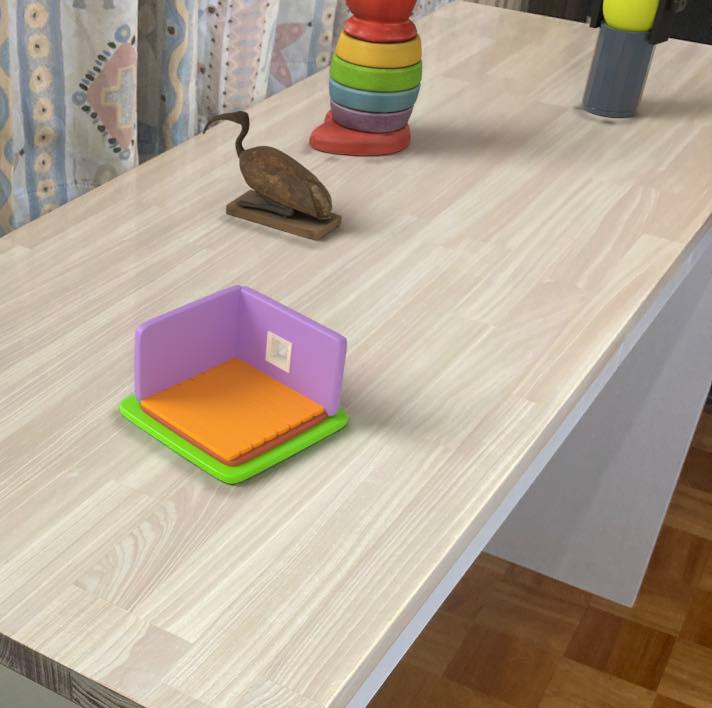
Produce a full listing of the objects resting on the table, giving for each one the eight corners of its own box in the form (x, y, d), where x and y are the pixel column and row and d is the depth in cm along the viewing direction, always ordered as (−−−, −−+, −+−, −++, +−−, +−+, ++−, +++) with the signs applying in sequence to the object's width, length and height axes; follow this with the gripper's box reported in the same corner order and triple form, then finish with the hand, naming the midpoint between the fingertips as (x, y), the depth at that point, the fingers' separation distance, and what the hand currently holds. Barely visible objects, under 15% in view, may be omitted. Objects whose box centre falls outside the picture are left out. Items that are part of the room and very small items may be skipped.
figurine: (187, 202, 107) (190, 109, 102) (212, 187, 110) (217, 95, 104) (317, 241, 101) (328, 144, 96) (341, 224, 104) (353, 129, 98)
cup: (647, 116, 128) (671, 32, 122) (596, 118, 127) (617, 33, 121) (621, 98, 132) (643, 15, 127) (571, 100, 131) (591, 17, 126)
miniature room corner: (235, 354, 86) (240, 270, 81) (355, 422, 79) (368, 335, 75) (111, 410, 79) (110, 323, 75) (230, 489, 73) (236, 399, 68)
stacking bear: (329, 115, 126) (349, -63, 114) (420, 129, 123) (449, -52, 112) (304, 149, 118) (321, -38, 107) (400, 164, 115) (429, -26, 104)
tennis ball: (672, 44, 123) (691, -25, 118) (613, 46, 122) (630, -23, 117) (642, 25, 128) (659, -41, 123) (585, 27, 127) (600, -39, 122)
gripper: (585, -227, 114) (533, 18, 128) (771, -203, 102) (690, 63, 117) (627, -231, 117) (572, 7, 132) (811, -208, 106) (728, 50, 121)
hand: (628, 33), depth 124 cm, fingers closed on tennis ball, 7 cm apart
